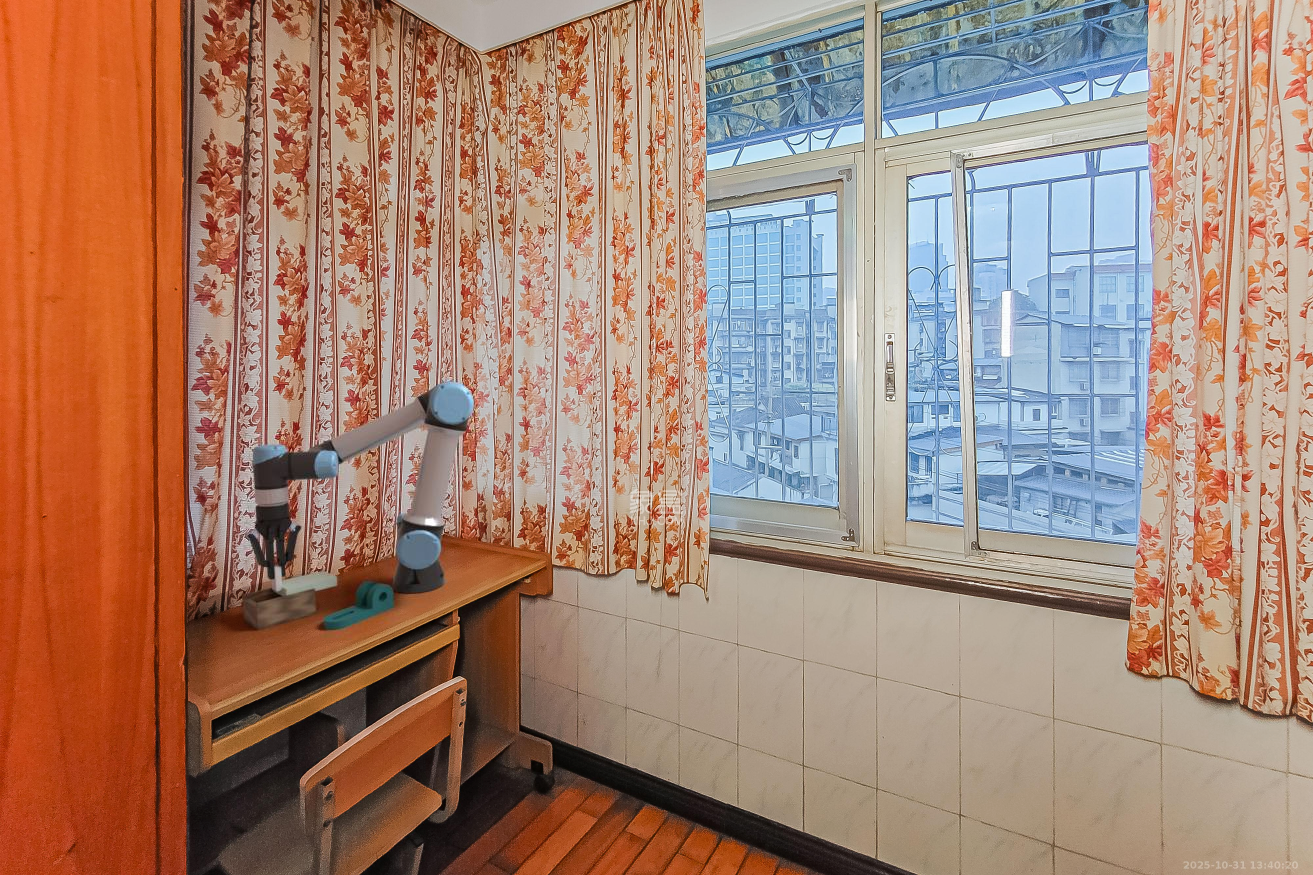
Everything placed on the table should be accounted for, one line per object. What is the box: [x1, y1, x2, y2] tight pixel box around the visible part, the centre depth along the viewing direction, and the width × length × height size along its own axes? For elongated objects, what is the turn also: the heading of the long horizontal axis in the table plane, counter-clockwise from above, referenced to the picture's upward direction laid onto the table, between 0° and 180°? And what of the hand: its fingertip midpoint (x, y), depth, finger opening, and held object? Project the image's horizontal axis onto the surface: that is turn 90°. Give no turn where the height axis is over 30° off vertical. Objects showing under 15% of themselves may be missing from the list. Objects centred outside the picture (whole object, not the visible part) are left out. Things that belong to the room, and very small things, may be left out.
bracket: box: [323, 580, 395, 631], centre depth 162 cm, size 18×7×8 cm, turn 154°
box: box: [241, 587, 317, 631], centre depth 161 cm, size 14×10×7 cm
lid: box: [274, 570, 338, 596], centre depth 167 cm, size 13×8×2 cm, turn 142°
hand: (277, 589), depth 161 cm, fingers closed
